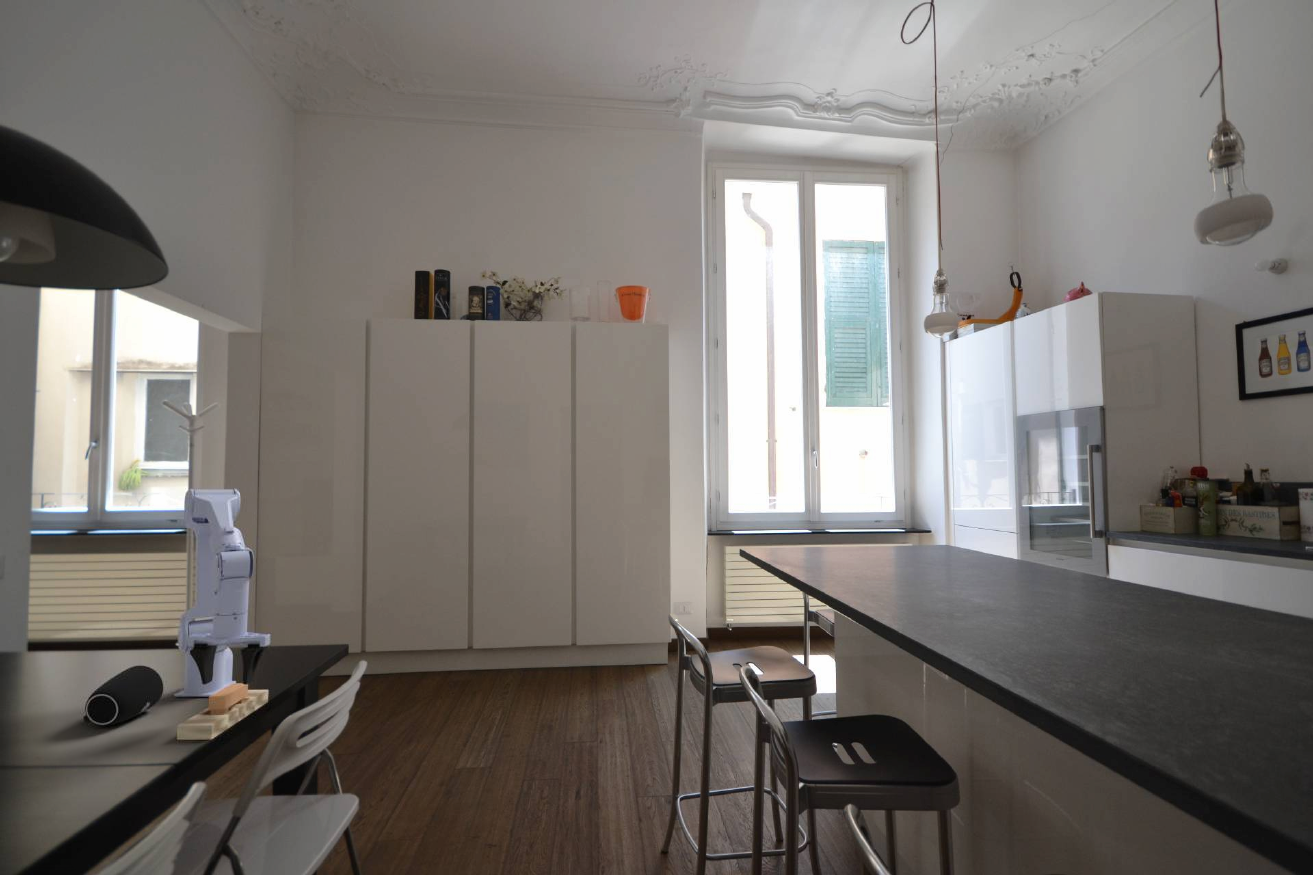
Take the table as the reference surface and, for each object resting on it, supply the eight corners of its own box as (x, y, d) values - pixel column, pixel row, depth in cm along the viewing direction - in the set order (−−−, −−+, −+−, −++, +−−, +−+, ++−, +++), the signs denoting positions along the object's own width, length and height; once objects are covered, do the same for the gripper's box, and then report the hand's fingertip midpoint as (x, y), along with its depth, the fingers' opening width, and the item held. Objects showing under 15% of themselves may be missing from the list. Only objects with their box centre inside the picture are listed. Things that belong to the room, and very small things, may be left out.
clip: (231, 710, 137) (232, 683, 137) (246, 710, 137) (248, 683, 137) (207, 725, 129) (209, 696, 129) (224, 725, 129) (225, 696, 129)
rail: (238, 701, 142) (238, 689, 142) (267, 701, 142) (268, 689, 143) (176, 739, 122) (177, 725, 122) (211, 739, 123) (212, 725, 123)
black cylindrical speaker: (136, 717, 127) (172, 694, 137) (110, 676, 126) (148, 656, 136) (79, 749, 126) (120, 724, 136) (53, 709, 126) (95, 686, 136)
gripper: (179, 616, 129) (175, 689, 128) (258, 617, 130) (255, 689, 129) (201, 608, 136) (198, 677, 135) (276, 609, 137) (273, 677, 136)
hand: (227, 682), depth 133 cm, fingers open, 7 cm apart
